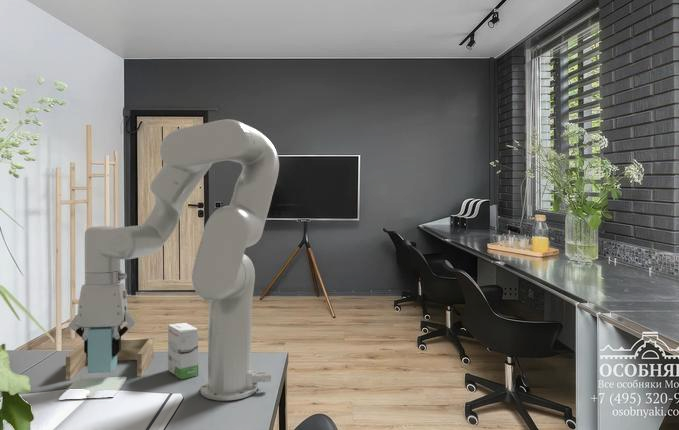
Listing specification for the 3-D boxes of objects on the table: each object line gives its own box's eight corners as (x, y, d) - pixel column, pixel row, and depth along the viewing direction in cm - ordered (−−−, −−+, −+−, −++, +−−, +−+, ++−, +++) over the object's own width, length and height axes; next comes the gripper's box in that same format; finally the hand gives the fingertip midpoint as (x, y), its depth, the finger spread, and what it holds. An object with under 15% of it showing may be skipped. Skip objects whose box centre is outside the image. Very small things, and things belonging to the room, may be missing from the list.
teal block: (117, 364, 115) (117, 324, 115) (110, 372, 110) (110, 329, 110) (95, 365, 114) (95, 324, 114) (87, 373, 109) (87, 330, 109)
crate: (153, 357, 129) (153, 337, 129) (141, 376, 115) (141, 353, 115) (86, 360, 126) (86, 340, 126) (65, 379, 112) (65, 356, 112)
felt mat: (126, 379, 113) (126, 376, 113) (113, 397, 103) (113, 394, 103) (77, 381, 111) (77, 379, 111) (58, 400, 101) (58, 397, 101)
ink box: (199, 375, 116) (199, 328, 116) (179, 380, 113) (179, 331, 113) (185, 366, 123) (186, 321, 123) (166, 370, 120) (167, 323, 120)
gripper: (144, 275, 117) (144, 349, 117) (70, 276, 114) (70, 351, 114) (136, 280, 109) (136, 358, 110) (56, 281, 107) (57, 362, 107)
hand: (102, 354), depth 112 cm, fingers closed on teal block, 5 cm apart
